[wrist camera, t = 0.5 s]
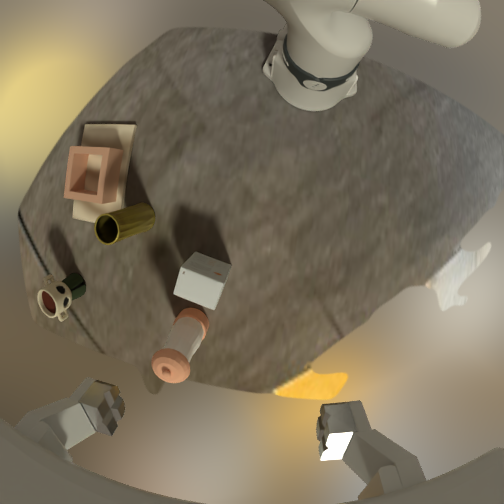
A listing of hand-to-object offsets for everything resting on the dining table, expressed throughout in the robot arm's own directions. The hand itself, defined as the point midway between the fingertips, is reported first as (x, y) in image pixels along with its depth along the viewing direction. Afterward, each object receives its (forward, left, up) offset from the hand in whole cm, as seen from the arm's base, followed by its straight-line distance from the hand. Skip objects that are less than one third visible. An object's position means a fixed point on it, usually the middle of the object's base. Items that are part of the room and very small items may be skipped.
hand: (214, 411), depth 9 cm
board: (-5, -36, -45) cm, 57 cm away
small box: (+11, -8, -45) cm, 47 cm away
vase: (+3, -24, -45) cm, 51 cm away
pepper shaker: (+24, -10, -45) cm, 52 cm away
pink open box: (-5, -36, -44) cm, 57 cm away
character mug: (+23, -42, -45) cm, 65 cm away
